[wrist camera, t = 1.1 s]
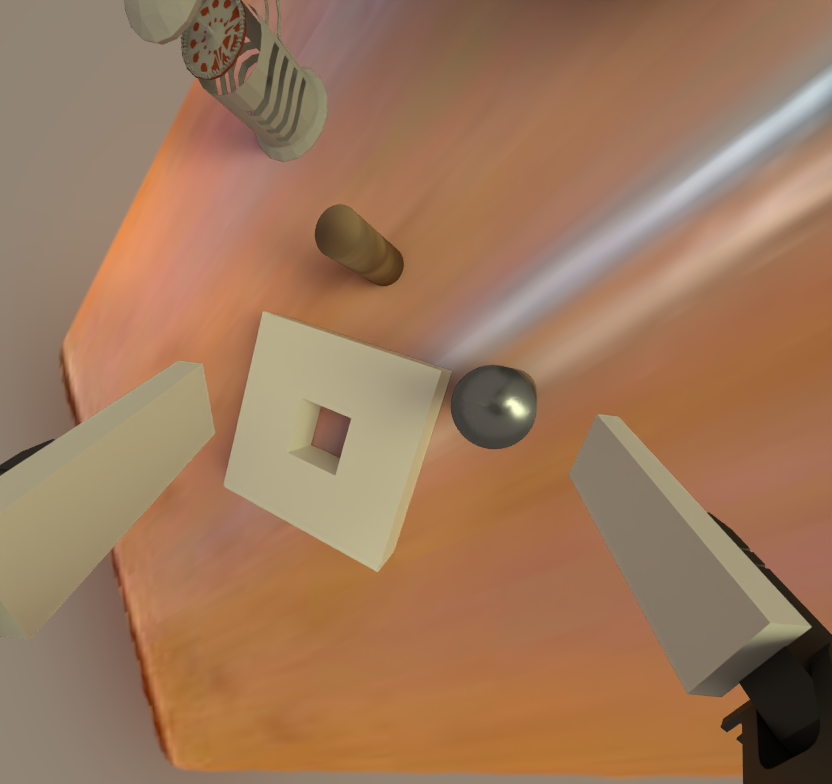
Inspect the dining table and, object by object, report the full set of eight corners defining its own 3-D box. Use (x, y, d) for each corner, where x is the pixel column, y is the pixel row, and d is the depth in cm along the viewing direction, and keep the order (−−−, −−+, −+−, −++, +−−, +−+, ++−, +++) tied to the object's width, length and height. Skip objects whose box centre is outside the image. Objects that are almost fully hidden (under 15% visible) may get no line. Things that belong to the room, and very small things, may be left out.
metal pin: (499, 363, 32) (465, 354, 17) (542, 377, 30) (549, 380, 15) (485, 404, 32) (440, 431, 17) (527, 419, 31) (519, 462, 16)
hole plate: (289, 317, 39) (263, 311, 35) (452, 371, 33) (441, 370, 29) (251, 476, 42) (223, 486, 38) (394, 551, 36) (377, 572, 32)
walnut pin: (373, 242, 35) (322, 200, 27) (408, 250, 34) (366, 209, 26) (363, 281, 36) (309, 252, 27) (397, 290, 35) (352, 262, 26)
